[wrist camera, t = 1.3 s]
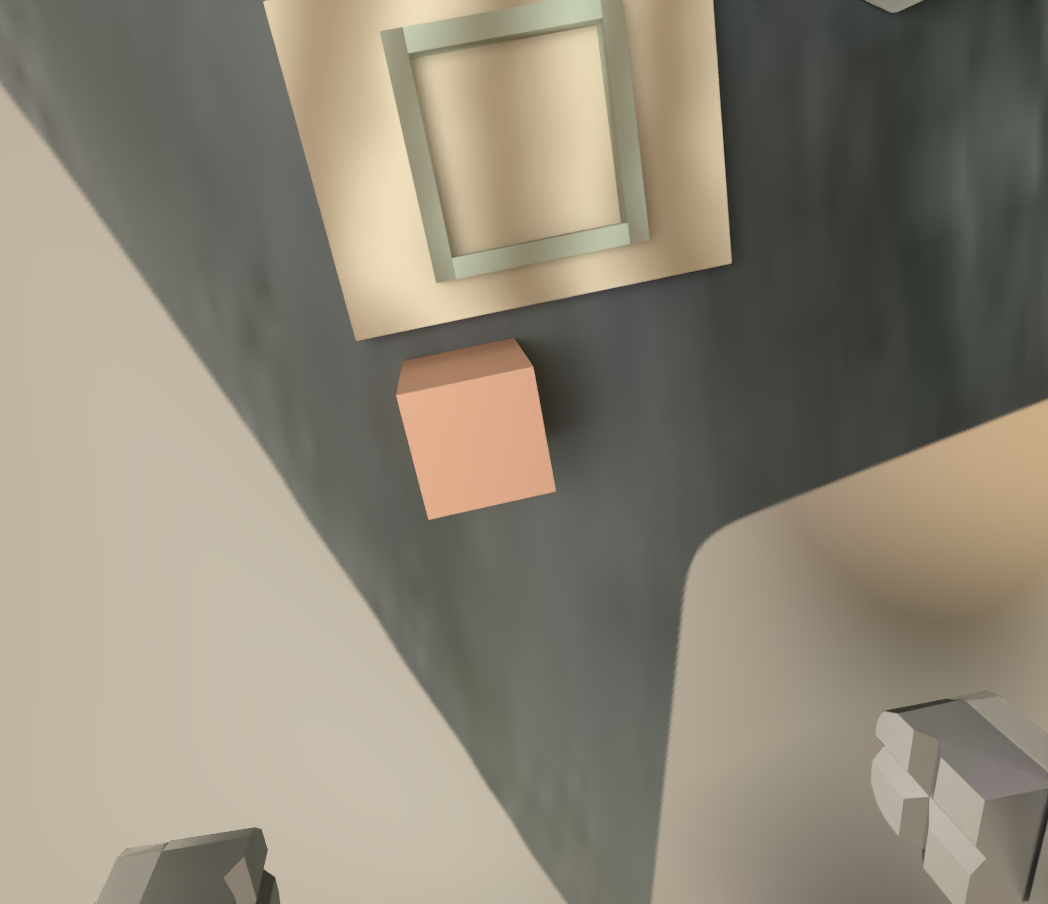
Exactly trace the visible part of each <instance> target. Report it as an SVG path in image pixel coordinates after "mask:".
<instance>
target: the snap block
mask: <svg viewBox="0 0 1048 904" xmlns="http://www.w3.org/2000/svg"><path fill="white" fill-rule="evenodd" d="M396 396H397V400H398V404H399V408H400V412H401V416H402V419H403V423H404V427H405V431H406V435H407V439H408V443H409V446H410V450H411V454H412V458H413V462H414V466H415V470H416V473H417V477H418V481H419V485H420V489H421V493H422V497H423V501H424V504H425V508H426V512H427V516H428V520H430V519H434V518H439V517H443V516H448V515H452V514H457V513H461V512H466V511H470V510H475V509H479V508H484V507H488V506H493V505H497V504H502V503H506V502H511V501H515V500H520V499H524V498H529V497H533V496H538V495H542V494H547V493H551V492H556V489H555V483H554V478H553V472H552V467H551V461H550V456H549V450H548V445H547V439H546V434H545V428H544V423H543V417H542V412H541V406H540V401H539V395H538V390H537V384H536V379H535V373H534V368H533V365H532V364H531V362H530V361H529V359H528V358H527V356H526V355H525V353H524V352H523V350H522V349H521V347H520V346H519V344H518V343H517V341H516V340H515V338H511V339H506V340H501V341H497V342H492V343H487V344H482V345H477V346H473V347H468V348H463V349H458V350H453V351H449V352H444V353H439V354H434V355H429V356H425V357H420V358H415V359H410V360H405V361H403V363H402V368H401V373H400V378H399V384H398V389H397V394H396Z"/></svg>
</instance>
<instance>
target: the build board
mask: <svg viewBox="0 0 1048 904" xmlns="http://www.w3.org/2000/svg"><path fill="white" fill-rule="evenodd" d="M263 3H264V6H265V10H266V14H267V17H268V21H269V25H270V28H271V32H272V36H273V39H274V43H275V47H276V50H277V54H278V58H279V61H280V65H281V68H282V72H283V76H284V79H285V83H286V87H287V90H288V94H289V98H290V101H291V105H292V109H293V112H294V116H295V120H296V123H297V127H298V131H299V134H300V138H301V142H302V145H303V149H304V152H305V156H306V160H307V163H308V167H309V171H310V174H311V178H312V182H313V185H314V189H315V193H316V196H317V200H318V204H319V207H320V211H321V215H322V218H323V222H324V226H325V229H326V233H327V237H328V240H329V244H330V247H331V251H332V255H333V258H334V262H335V266H336V269H337V273H338V277H339V280H340V284H341V288H342V291H343V295H344V299H345V302H346V306H347V310H348V313H349V317H350V321H351V324H352V328H353V331H354V335H355V339H356V341H358V340H363V339H368V338H373V337H378V336H383V335H387V334H392V333H397V332H402V331H407V330H412V329H416V328H421V327H426V326H431V325H436V324H441V323H445V322H450V321H455V320H460V319H465V318H470V317H475V316H479V315H484V314H489V313H494V312H499V311H504V310H508V309H513V308H518V307H523V306H528V305H533V304H537V303H542V302H547V301H552V300H557V299H562V298H567V297H571V296H576V295H581V294H586V293H591V292H596V291H600V290H605V289H610V288H615V287H620V286H625V285H629V284H634V283H639V282H644V281H649V280H654V279H659V278H663V277H668V276H673V275H678V274H683V273H688V272H692V271H697V270H702V269H707V268H712V267H717V266H721V265H726V264H731V263H732V259H731V245H730V231H729V217H728V203H727V189H726V175H725V161H724V147H723V133H722V119H721V105H720V91H719V77H718V63H717V49H716V35H715V21H714V7H713V0H268V1H263Z"/></svg>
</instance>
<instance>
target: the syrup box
mask: <svg viewBox="0 0 1048 904" xmlns="http://www.w3.org/2000/svg"><path fill="white" fill-rule="evenodd" d="M865 1H867V2H869V3H871V4H873V5H875V6H877V7H880V8H882V9H884V10H886V11H888V12H890V13H897V12H899V11H901V10H903V9H905V8H908V7H910V6H912V5H914V4H916V3H919V2H921V1H923V0H865Z"/></svg>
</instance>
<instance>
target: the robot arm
mask: <svg viewBox="0 0 1048 904" xmlns="http://www.w3.org/2000/svg"><path fill="white" fill-rule="evenodd" d="M875 735H876V737H877V738H878V739H879V740H880V742H881V743H882V744H883V745H884V747H883V748H882V749H881V750H880V752H879V753H878V754H877V756H876V757H875V758H874V760H873V761H872V769H871V785H872V788H873V792H874V795H875V798H876V802H877V805H878V806H879V808H880V810H881V812H882V814H883V816H884V818H885V820H886V821H887V822H888V824H889V825H890V826H891V827H892V829H893V830H894V831H895V833H896V834H897V835H898V836H899V837H900V838H902V839H904V840H906V841H907V842H909V843H911V844H913V845H915V846H916V847H918V848H920V849H922V860H923V868H924V869H925V870H926V872H927V873H928V874H929V875H930V876H931V878H932V879H933V880H934V882H935V883H936V884H937V885H938V886H939V888H940V889H941V890H942V891H943V893H944V894H945V895H946V896H947V898H948V899H949V900H950V901H951V903H952V904H1048V734H1047V733H1046V732H1045V731H1044V730H1042V729H1041V728H1040V727H1038V726H1037V725H1036V724H1034V723H1033V722H1032V721H1031V720H1029V719H1028V718H1027V717H1025V715H1023V714H1022V713H1021V712H1020V711H1018V710H1017V709H1016V708H1015V707H1013V706H1012V705H1011V704H1009V703H1008V702H1007V701H1006V700H1004V699H1003V698H1002V697H1001V696H999V695H996V694H994V693H991V692H988V691H983V692H978V693H973V694H967V695H963V696H958V697H953V698H951V699H942V700H937V701H932V702H927V703H922V704H917V705H912V706H906V707H902V708H896V709H891V710H886V711H883V713H882V714H881V715H880V717H879V718H878V719H877V725H876V732H875ZM267 851H268V849H267V846H266V843H265V839H264V836H263V833H262V830H261V829H259V828H248V829H242V830H236V831H229V832H223V833H217V834H210V835H204V836H198V837H192V838H185V839H179V840H173V841H170V842H166V843H160V844H154V845H147V846H140V847H134V848H127V849H125V850H124V852H123V853H121V855H120V856H119V857H118V858H117V859H116V860H115V861H114V863H113V865H112V867H111V869H110V871H109V873H108V875H107V877H106V880H105V882H104V884H103V886H102V888H101V890H100V892H99V895H98V897H97V899H96V901H95V903H94V904H280V898H279V891H278V887H277V883H276V879H275V877H274V876H273V875H271V874H269V873H268V872H267V871H265V870H264V864H265V860H266V855H267Z"/></svg>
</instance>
